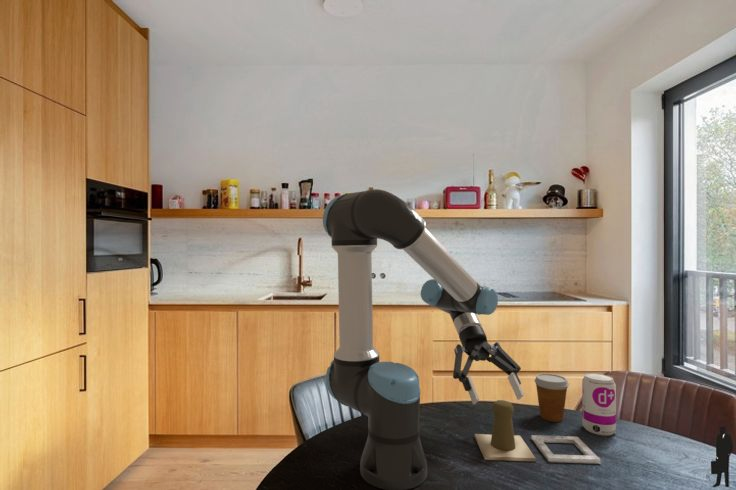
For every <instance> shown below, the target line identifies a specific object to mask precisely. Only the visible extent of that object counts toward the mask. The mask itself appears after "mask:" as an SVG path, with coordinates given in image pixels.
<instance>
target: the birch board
mask: <svg viewBox="0 0 736 490" xmlns="http://www.w3.org/2000/svg"><path fill="white" fill-rule="evenodd" d="M491 437H492V434H485V433H474V439H475V441H476V443H477V445H478V447H479V449H480V452H481V454H482V457H483V459H484V460H485V461H486V460H487V461H512V462H535V461H537V460H536V456H535V455H534V454H533V452H532V451H531V449H530V448H529V446H528V445H527V443H526V442H525V441H524V439H523V438H522V436H521V435H518V434H517V435H516V434H514V439H515V446H516V447H515V449H514V450H512V451H502V450H498V449H496V448H494V447H493V446H491Z"/></svg>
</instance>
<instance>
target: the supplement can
mask: <svg viewBox="0 0 736 490" xmlns="http://www.w3.org/2000/svg"><path fill="white" fill-rule="evenodd" d="M581 381H582V382H581V385H582V386H581V389H582V390H581V395H582V396H581V399H582V400H581V401H582V402H581V403H582V405H581V406H582V410H581V411H582V413H581V414H582V415H581V416H582V418H581V420H582V421H581V423H582V427H583V428H584V429H585V430H586V431H587V432H589V433H591V434H594V435H598V436H604V437H606V436H607V437H608V436H612V435H614V434H615V433H616V432H617V393H616V391H617V389H616V388H617V384H616V383H615V381H614V378H613V377H612V376H610V375H608V374H604V373H597V372H591V373H590V372H589V373H588V372H587V373H585V374H584V376H583V378H582V379H581Z"/></svg>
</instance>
